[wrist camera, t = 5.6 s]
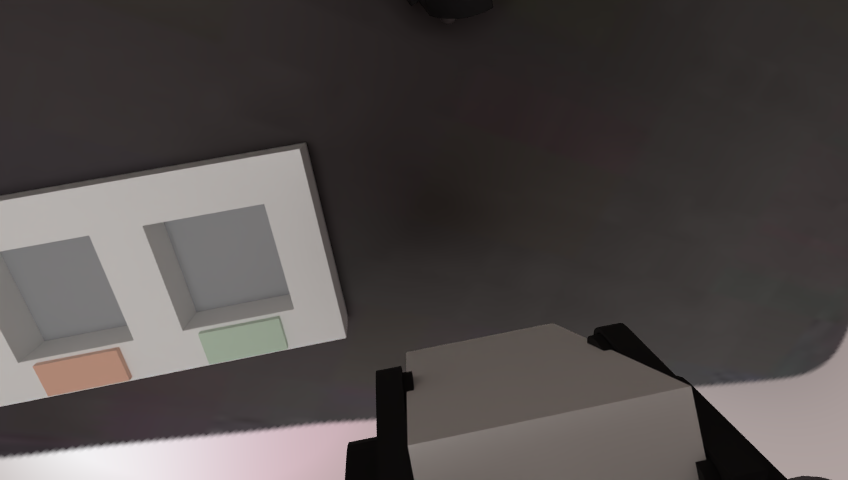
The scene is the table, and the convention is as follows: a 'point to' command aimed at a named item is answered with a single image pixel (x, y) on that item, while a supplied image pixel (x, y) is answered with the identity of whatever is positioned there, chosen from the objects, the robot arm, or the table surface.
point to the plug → (546, 412)
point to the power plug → (454, 8)
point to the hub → (163, 272)
